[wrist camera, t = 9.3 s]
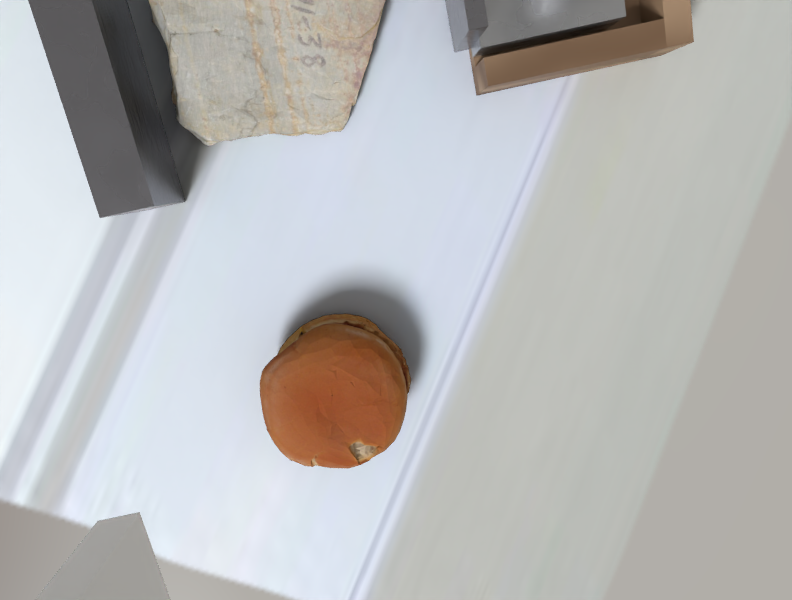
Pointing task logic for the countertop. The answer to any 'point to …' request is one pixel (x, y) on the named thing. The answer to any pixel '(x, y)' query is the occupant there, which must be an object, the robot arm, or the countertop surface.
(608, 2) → the ram
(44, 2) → the grey rectangular bar
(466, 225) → the countertop surface
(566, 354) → the countertop surface
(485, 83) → the frame
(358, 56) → the stone
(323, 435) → the burger
